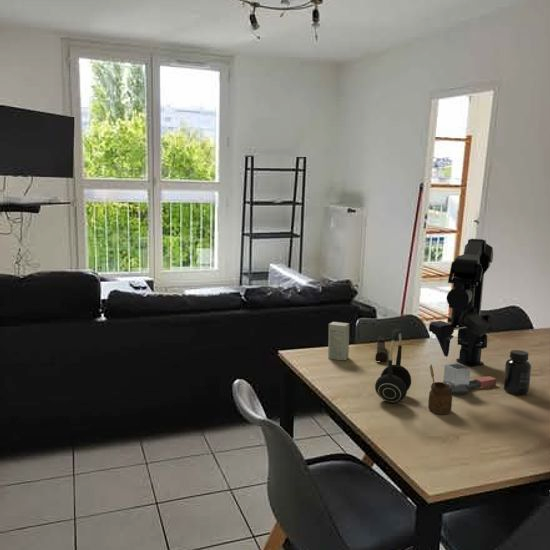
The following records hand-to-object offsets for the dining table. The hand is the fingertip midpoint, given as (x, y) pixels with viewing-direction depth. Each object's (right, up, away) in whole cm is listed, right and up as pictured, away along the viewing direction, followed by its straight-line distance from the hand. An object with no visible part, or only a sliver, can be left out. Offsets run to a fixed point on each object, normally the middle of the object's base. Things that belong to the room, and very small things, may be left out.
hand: (458, 354), depth 151 cm
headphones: (-20, -12, -5) cm, 24 cm away
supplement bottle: (+18, -11, +2) cm, 21 cm away
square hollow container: (0, -8, +1) cm, 9 cm away
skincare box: (-32, -6, +28) cm, 43 cm away
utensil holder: (-9, -13, -12) cm, 20 cm away
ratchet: (+5, -11, +4) cm, 12 cm away
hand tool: (-16, -5, +33) cm, 37 cm away
